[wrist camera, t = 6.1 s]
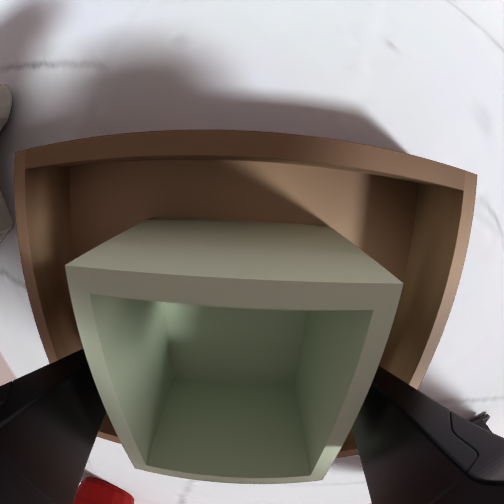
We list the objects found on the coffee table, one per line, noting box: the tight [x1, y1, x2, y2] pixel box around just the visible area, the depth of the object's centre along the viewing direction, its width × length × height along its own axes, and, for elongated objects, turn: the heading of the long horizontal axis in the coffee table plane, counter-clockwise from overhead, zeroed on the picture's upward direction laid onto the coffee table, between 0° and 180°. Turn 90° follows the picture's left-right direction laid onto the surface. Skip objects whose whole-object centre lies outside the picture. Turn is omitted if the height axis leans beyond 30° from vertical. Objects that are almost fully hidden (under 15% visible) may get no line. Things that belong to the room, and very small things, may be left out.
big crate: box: [14, 130, 477, 458], centre depth 9 cm, size 12×14×3 cm
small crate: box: [65, 217, 403, 484], centre depth 8 cm, size 7×6×5 cm
